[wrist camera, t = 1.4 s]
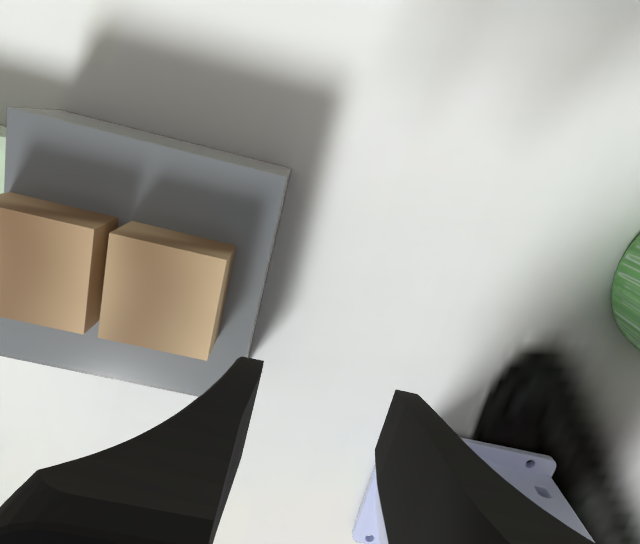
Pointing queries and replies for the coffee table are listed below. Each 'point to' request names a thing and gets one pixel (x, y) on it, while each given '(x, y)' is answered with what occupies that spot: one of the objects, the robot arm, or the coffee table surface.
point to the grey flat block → (153, 209)
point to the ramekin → (628, 293)
